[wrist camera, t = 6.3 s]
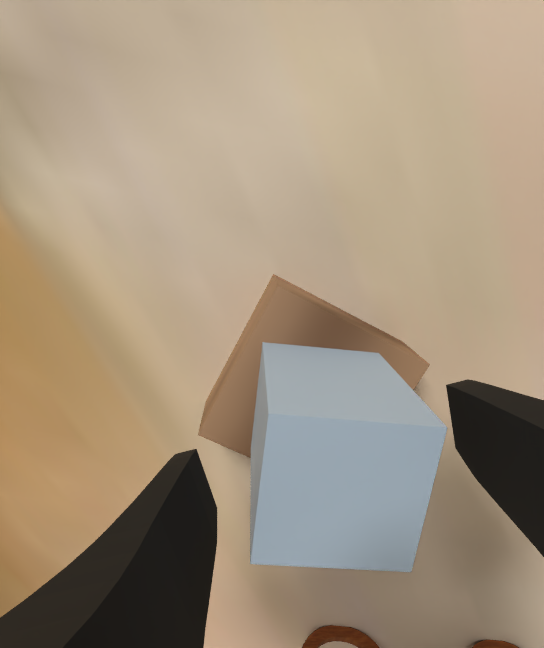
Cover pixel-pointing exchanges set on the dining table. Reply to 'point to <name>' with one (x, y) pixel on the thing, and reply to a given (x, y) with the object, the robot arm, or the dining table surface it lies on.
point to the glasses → (366, 643)
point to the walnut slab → (292, 329)
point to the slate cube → (339, 461)
